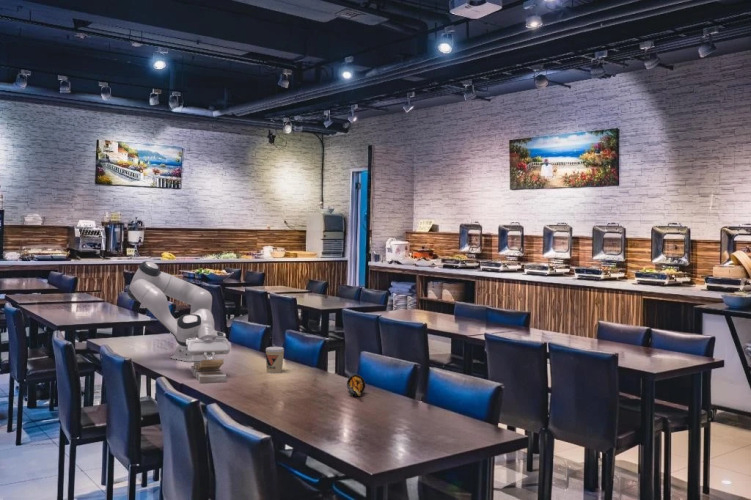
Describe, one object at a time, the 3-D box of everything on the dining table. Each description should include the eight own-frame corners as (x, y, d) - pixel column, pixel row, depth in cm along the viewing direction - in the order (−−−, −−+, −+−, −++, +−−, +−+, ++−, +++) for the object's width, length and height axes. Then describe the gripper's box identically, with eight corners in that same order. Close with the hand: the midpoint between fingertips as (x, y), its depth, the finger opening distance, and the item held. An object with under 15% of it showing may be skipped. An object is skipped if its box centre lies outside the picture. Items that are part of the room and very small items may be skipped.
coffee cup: (261, 372, 348) (261, 348, 348) (272, 369, 356) (273, 346, 356) (276, 374, 343) (277, 350, 343) (287, 371, 352) (287, 347, 351)
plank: (197, 370, 331) (197, 366, 332) (218, 369, 335) (218, 365, 336) (202, 364, 320) (201, 360, 321) (223, 363, 324) (223, 359, 325)
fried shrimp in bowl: (363, 380, 314) (378, 375, 299) (356, 403, 310) (371, 399, 294) (345, 373, 312) (359, 367, 296) (338, 396, 308) (352, 392, 292)
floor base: (191, 371, 343) (191, 361, 342) (215, 370, 347) (215, 360, 347) (200, 383, 318) (200, 372, 318) (226, 381, 323) (226, 371, 323)
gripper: (185, 334, 329) (188, 358, 321) (228, 333, 337) (232, 356, 329) (184, 342, 334) (186, 366, 325) (226, 340, 342) (230, 364, 333)
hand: (209, 361), depth 327 cm, fingers closed, pressing on plank
